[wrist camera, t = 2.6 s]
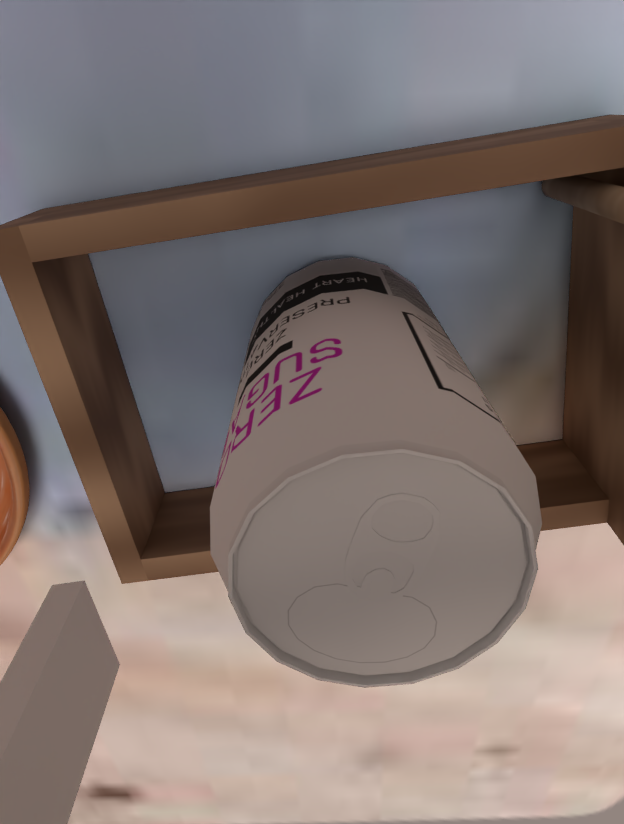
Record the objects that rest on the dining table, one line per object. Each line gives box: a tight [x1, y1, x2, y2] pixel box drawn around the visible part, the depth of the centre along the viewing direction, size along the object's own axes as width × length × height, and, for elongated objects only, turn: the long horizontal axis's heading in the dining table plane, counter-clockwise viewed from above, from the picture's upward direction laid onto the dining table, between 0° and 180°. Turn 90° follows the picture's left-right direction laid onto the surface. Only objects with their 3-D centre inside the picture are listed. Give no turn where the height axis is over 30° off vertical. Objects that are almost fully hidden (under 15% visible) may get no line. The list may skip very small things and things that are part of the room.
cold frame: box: [0, 115, 624, 584], centre depth 16 cm, size 15×23×23 cm, turn 99°
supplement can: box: [210, 257, 542, 688], centre depth 20 cm, size 8×8×15 cm
